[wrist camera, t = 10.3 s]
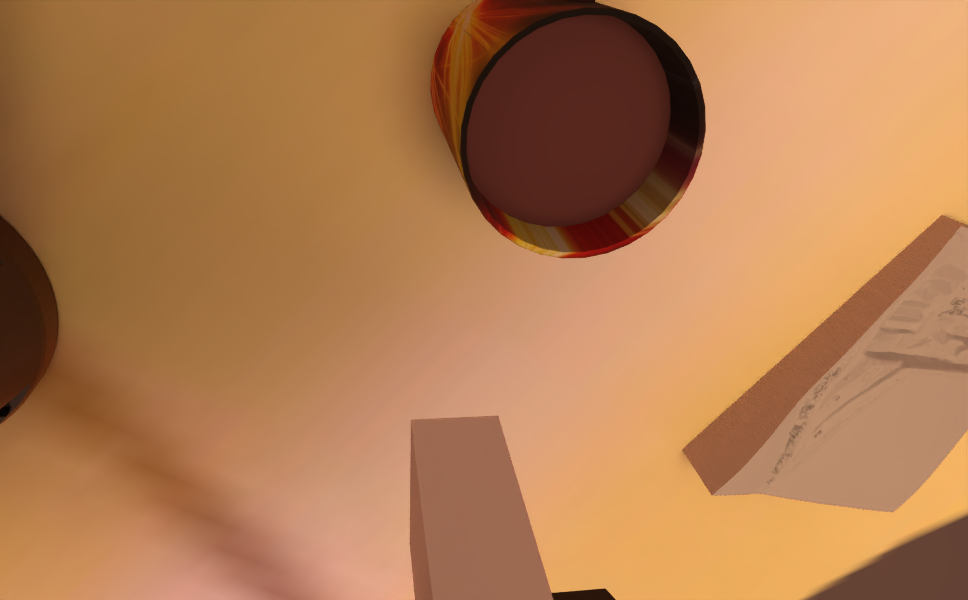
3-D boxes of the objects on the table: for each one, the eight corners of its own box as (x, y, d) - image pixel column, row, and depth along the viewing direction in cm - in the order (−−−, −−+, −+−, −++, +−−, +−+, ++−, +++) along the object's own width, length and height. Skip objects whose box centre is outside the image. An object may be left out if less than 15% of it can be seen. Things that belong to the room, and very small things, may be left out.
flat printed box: (1048, 153, 47) (1127, 179, 43) (1078, 345, 54) (1149, 386, 50) (638, 369, 50) (669, 417, 45) (719, 527, 57) (753, 583, 52)
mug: (538, -142, 36) (618, -171, 25) (638, 123, 42) (736, 190, 32) (354, -43, 37) (355, -30, 26) (479, 204, 43) (522, 297, 32)
